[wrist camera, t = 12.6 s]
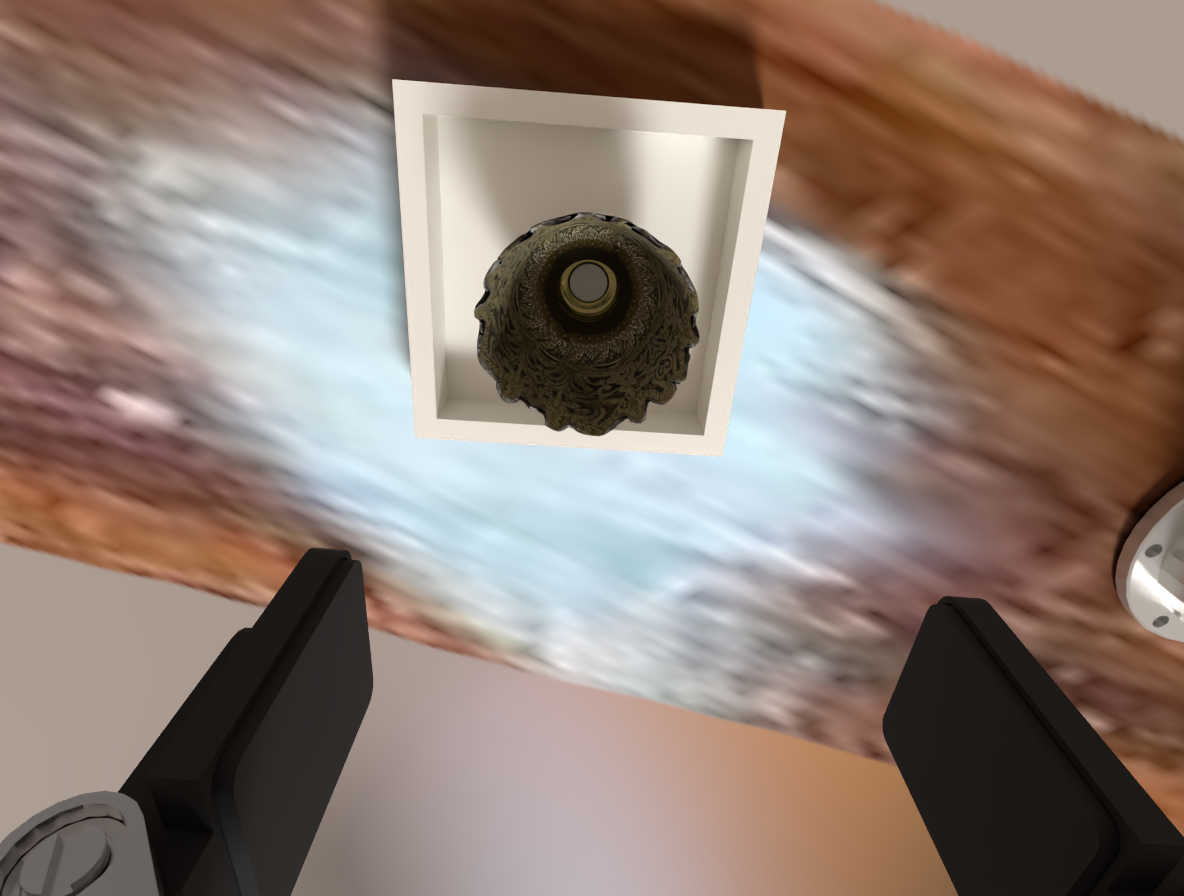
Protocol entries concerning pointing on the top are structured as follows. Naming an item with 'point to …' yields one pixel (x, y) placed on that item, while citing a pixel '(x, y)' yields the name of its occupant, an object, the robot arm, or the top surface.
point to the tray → (558, 188)
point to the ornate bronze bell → (587, 323)
